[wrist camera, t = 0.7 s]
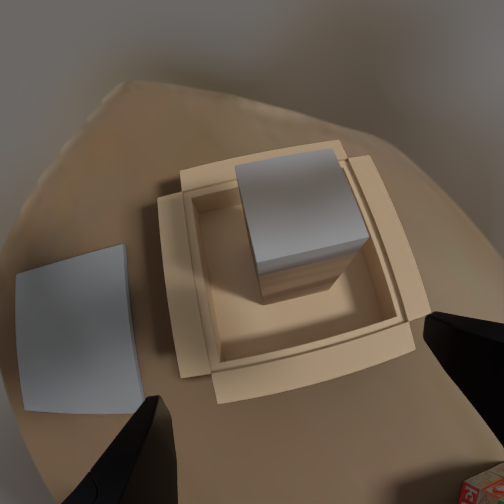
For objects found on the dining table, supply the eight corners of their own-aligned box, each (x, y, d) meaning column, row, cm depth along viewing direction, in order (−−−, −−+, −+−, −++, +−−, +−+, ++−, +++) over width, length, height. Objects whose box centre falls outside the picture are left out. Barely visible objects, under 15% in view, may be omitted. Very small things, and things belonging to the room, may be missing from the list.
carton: (416, 343, 20) (438, 339, 17) (200, 401, 20) (187, 408, 17) (351, 161, 26) (360, 137, 23) (168, 198, 26) (156, 177, 23)
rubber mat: (147, 411, 20) (144, 412, 19) (28, 409, 19) (24, 410, 19) (126, 246, 25) (123, 243, 24) (19, 276, 24) (16, 274, 24)
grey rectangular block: (328, 289, 22) (369, 236, 12) (263, 305, 22) (257, 262, 12) (310, 229, 23) (332, 148, 14) (249, 243, 23) (234, 165, 14)
